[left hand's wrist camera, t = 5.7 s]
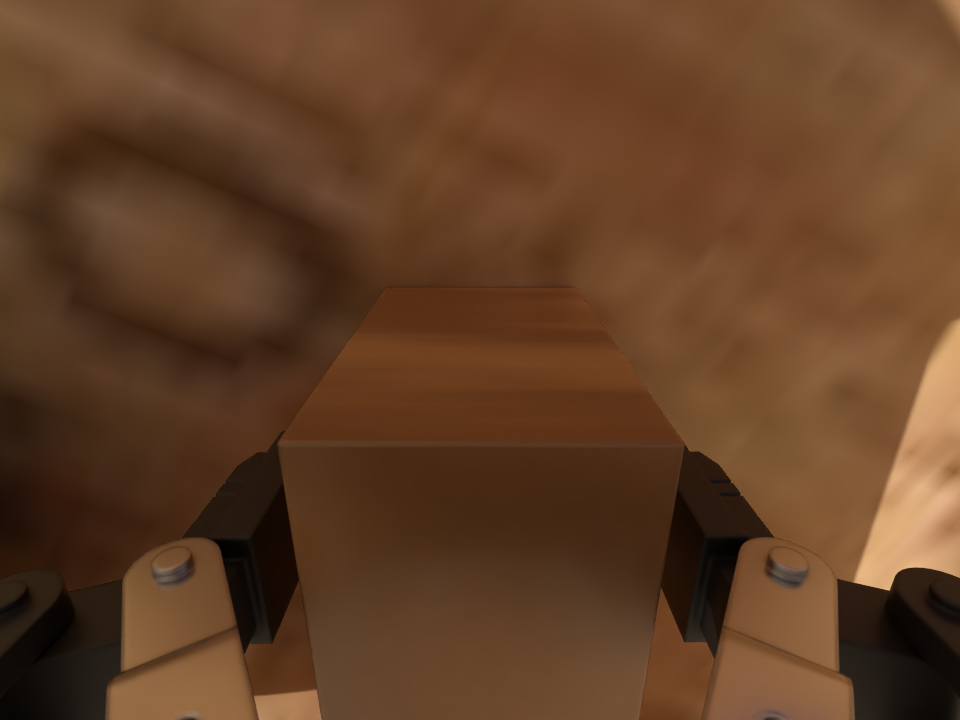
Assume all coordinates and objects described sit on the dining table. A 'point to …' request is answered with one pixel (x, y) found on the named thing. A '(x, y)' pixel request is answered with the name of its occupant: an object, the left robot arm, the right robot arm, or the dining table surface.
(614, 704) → the bar
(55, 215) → the dining table surface
